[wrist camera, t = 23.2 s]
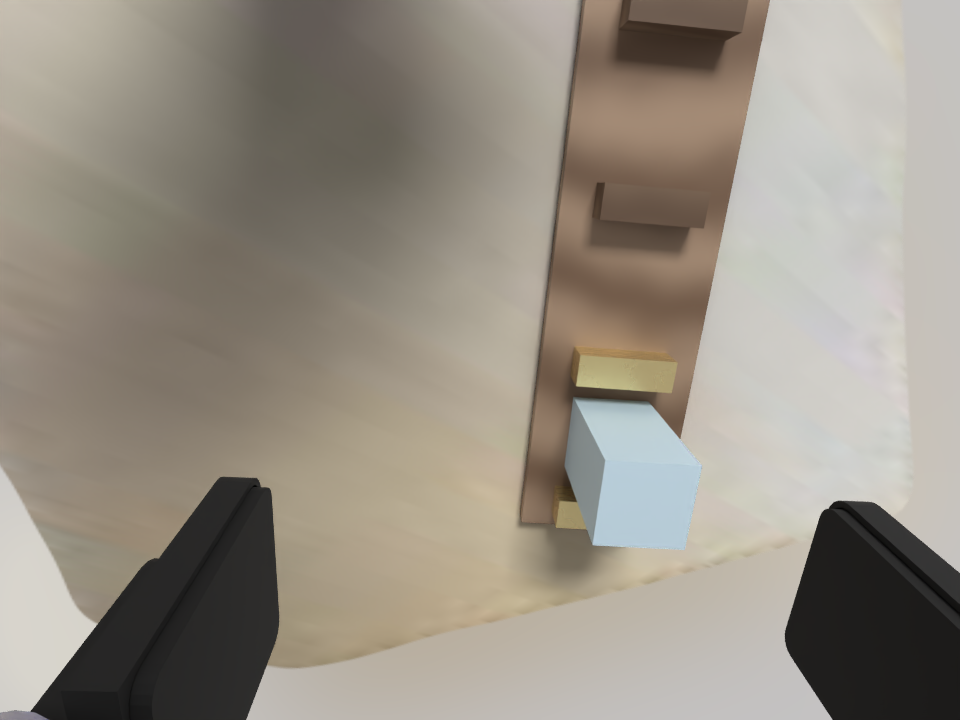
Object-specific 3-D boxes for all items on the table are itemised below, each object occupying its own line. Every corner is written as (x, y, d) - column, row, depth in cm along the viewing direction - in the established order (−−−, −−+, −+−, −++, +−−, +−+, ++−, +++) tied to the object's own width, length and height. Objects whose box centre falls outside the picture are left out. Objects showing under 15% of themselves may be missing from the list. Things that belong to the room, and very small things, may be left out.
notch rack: (586, -32, 32) (598, -53, 29) (764, -12, 32) (793, -31, 29) (520, 514, 42) (524, 539, 39) (657, 522, 42) (671, 547, 39)
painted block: (573, 396, 38) (605, 460, 29) (648, 401, 38) (702, 465, 30) (564, 465, 39) (592, 545, 31) (636, 469, 40) (684, 549, 31)
